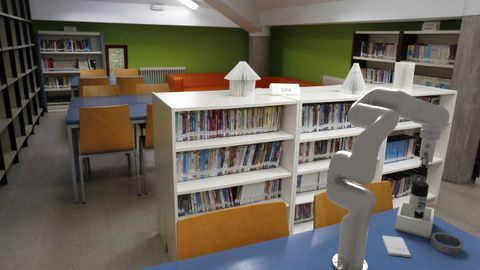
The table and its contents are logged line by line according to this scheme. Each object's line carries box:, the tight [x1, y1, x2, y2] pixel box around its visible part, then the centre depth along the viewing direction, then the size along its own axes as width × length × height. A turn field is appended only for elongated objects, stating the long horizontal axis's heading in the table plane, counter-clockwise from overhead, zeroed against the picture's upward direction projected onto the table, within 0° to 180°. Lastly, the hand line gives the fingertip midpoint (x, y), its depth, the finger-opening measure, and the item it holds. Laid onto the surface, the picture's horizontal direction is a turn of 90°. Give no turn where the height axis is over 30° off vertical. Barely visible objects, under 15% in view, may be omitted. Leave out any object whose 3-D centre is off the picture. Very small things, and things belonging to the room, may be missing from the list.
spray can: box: [407, 180, 430, 220], centre depth 157 cm, size 7×7×20 cm
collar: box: [430, 232, 464, 256], centre depth 145 cm, size 11×11×3 cm
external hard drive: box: [381, 235, 412, 258], centre depth 144 cm, size 2×8×12 cm
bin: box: [394, 200, 435, 240], centre depth 160 cm, size 16×14×7 cm
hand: (422, 172), depth 153 cm, fingers open, 9 cm apart
